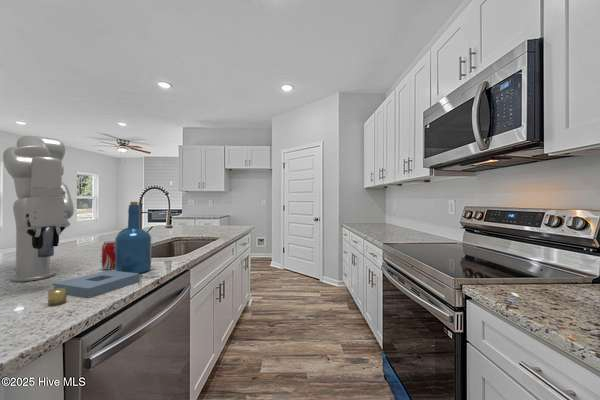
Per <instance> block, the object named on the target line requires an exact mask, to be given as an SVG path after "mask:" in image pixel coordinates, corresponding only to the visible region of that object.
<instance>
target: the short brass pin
mask: <svg viewBox="0 0 600 400" xmlns="http://www.w3.org/2000/svg"><path fill="white" fill-rule="evenodd" d="M66 291H67V289H66V288H58V289H54V288H53V289H50V290H48V291H47V306H48V307H58V306H62V305H64V304H67V295H66Z"/></svg>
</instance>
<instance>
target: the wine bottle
mask: <svg viewBox="0 0 600 400" xmlns="http://www.w3.org/2000/svg"><path fill="white" fill-rule="evenodd" d="M140 212H141V211H140V204H139V203H138V201H130V204H129V205H128V210H127V213H128V215H127V217H128V218H127V227H125V228H123V229H122V230H120V231H119V232H118V234H117V235H116V236H115V239H114V241H115V269H114V271H121V272H130V273H139V274H140V275H141V274H145V273H147V272H149V271H151V270H150V269H151V268H152V236H151V235H152V234H150V232H149V231H147V230H146V229H145V230H144V229H143V228H141V225H140V224H141V223H140V222H141V219H140ZM146 271H147V272H146Z"/></svg>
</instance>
